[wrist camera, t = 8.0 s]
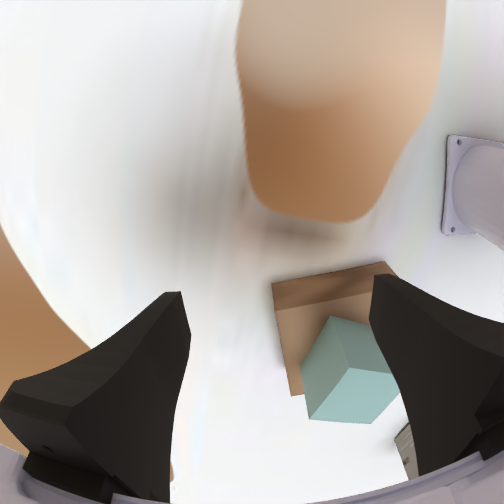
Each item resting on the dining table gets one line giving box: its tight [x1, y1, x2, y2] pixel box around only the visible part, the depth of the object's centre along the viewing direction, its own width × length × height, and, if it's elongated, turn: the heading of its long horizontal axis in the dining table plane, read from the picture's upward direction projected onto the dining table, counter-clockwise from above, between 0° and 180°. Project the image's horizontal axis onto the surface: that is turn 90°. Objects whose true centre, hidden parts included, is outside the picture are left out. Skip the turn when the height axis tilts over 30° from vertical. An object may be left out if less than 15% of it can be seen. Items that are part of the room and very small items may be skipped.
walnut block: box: [272, 261, 399, 396], centre depth 22 cm, size 9×9×4 cm
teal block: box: [300, 315, 400, 424], centre depth 18 cm, size 5×5×5 cm
